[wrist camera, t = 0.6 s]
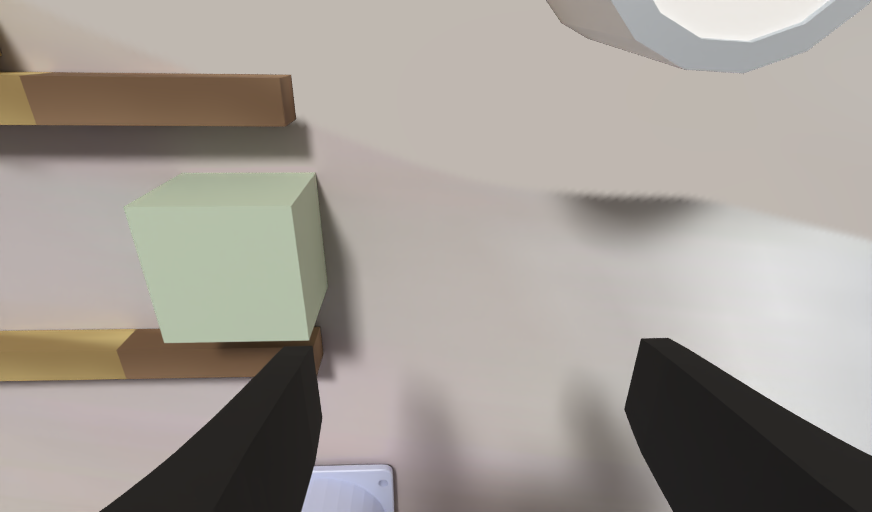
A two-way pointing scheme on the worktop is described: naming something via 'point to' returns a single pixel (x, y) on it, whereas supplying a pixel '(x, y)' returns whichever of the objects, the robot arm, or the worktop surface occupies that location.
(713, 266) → the worktop surface
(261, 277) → the block
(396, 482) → the worktop surface
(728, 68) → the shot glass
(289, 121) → the twin wooden rails
